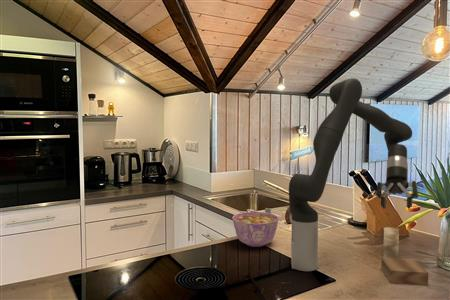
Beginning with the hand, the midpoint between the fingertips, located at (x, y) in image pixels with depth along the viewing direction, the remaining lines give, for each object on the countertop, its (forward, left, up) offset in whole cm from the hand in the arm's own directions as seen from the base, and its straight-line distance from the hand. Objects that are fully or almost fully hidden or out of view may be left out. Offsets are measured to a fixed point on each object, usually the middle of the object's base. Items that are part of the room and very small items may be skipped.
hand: (396, 207), depth 131 cm
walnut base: (-2, -17, -19) cm, 26 cm away
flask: (-49, +32, -20) cm, 62 cm away
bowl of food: (-54, +9, -20) cm, 58 cm away
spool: (-2, -3, -19) cm, 20 cm away
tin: (-36, +47, -20) cm, 62 cm away
